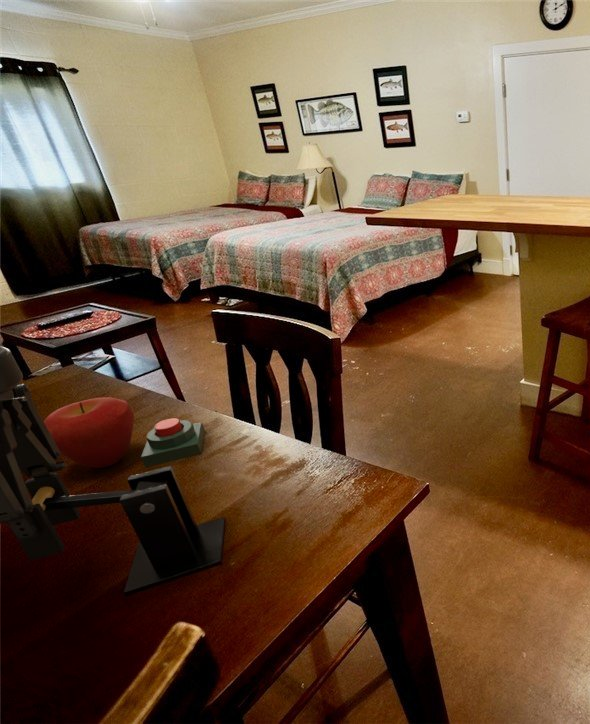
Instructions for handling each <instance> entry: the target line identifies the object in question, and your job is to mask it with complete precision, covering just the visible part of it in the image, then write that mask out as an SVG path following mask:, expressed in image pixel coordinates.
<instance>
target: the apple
mask: <svg viewBox="0 0 590 724" xmlns="http://www.w3.org/2000/svg"><path fill="white" fill-rule="evenodd" d="M43 421H44V423H45V425H46V427H47V429H48V431H49V432H50V434H51V436H52V438H53V440H54V442H55V444H56V445H57V447H58V449H59V451H60V453H61V455H62V456H64V457H66V458H68V459H69V460H71V461H73V462H74V463H76V464H78V465H79V466H83V467H88V468H95V469H103V468H107V467H110V466H113V465H115V464H117V463H118V462H119V461H121V459H122V458H123V457H124V456H125V455H126V454H127V453H128V451H129V449H130V447H131V442H132V437H133V431H134V421H135V415H134V412H133V411H132V409H131V406H130V405H129V403H128V402H127V401H126V400H123V399H119V398H116V397H109V396H105V397H103V396H102V397H95V398H89V399H85V400H81V401H77V402H74V403H70V404H67V405H64V406H62V407H59V408H58V409H56V410H55V411H53V412H51V413H50V414H49V415H48V416H47V417H46V418H45V419H44V420H43Z"/></svg>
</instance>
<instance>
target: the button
mask: <svg viewBox="0 0 590 724" xmlns="http://www.w3.org/2000/svg"><path fill="white" fill-rule="evenodd" d="M180 420H181V419H179V418H173V417H172V418H167V419H163V420H161V421H159V422H158V423H156V424H155V425H154V427H153V429H154V428H155V430H156V433H157V435H158V436H159V437H166V436H170V435H173V434H176V433H178V432H180V431H181V430H182V425H181V423H180Z"/></svg>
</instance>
